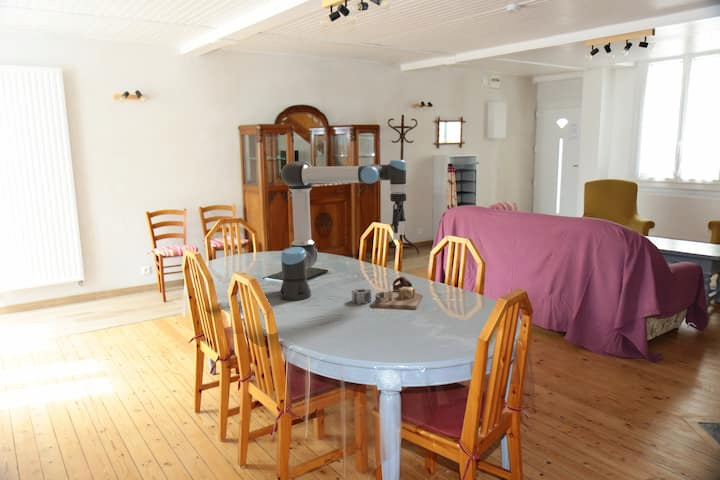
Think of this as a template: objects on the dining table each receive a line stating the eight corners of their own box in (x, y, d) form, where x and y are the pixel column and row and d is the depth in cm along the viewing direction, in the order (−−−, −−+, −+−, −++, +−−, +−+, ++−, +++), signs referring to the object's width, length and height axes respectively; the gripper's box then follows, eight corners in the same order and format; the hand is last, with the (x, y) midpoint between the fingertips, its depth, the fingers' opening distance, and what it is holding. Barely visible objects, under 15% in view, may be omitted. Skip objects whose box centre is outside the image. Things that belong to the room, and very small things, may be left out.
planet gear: (349, 303, 258) (349, 293, 257) (354, 298, 267) (354, 288, 266) (368, 304, 256) (368, 293, 255) (373, 298, 265) (372, 288, 264)
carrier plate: (372, 306, 252) (372, 294, 251) (381, 294, 271) (381, 282, 270) (416, 309, 247) (416, 296, 246) (422, 296, 266) (422, 284, 265)
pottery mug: (415, 294, 272) (407, 281, 269) (397, 302, 274) (389, 289, 272) (414, 282, 283) (406, 269, 280) (397, 290, 285) (390, 277, 282)
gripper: (401, 195, 252) (402, 241, 255) (410, 190, 275) (410, 232, 279) (385, 195, 253) (386, 241, 257) (395, 190, 277) (395, 232, 281)
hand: (398, 237), depth 268 cm, fingers open, 13 cm apart
